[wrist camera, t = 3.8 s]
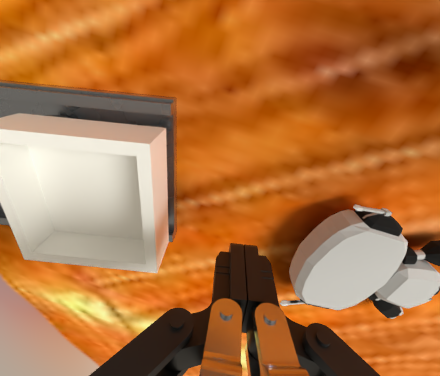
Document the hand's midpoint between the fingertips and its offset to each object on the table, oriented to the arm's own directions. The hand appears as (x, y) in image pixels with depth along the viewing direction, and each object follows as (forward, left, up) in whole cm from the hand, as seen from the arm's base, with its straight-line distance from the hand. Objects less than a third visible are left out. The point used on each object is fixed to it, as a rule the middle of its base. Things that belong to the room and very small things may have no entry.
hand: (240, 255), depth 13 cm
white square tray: (0, -11, -8) cm, 13 cm away
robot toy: (+6, +13, -9) cm, 18 cm away
